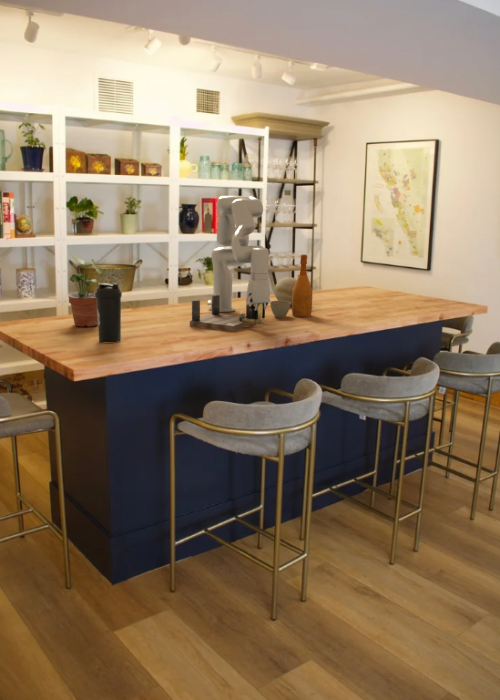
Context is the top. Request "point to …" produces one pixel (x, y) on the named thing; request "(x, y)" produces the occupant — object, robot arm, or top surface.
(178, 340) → the top surface
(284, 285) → the decorative ball
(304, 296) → the wine bottle
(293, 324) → the top surface
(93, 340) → the top surface
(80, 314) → the potted plant
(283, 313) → the flower pot
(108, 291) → the water bottle
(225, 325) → the stool seat
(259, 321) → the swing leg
